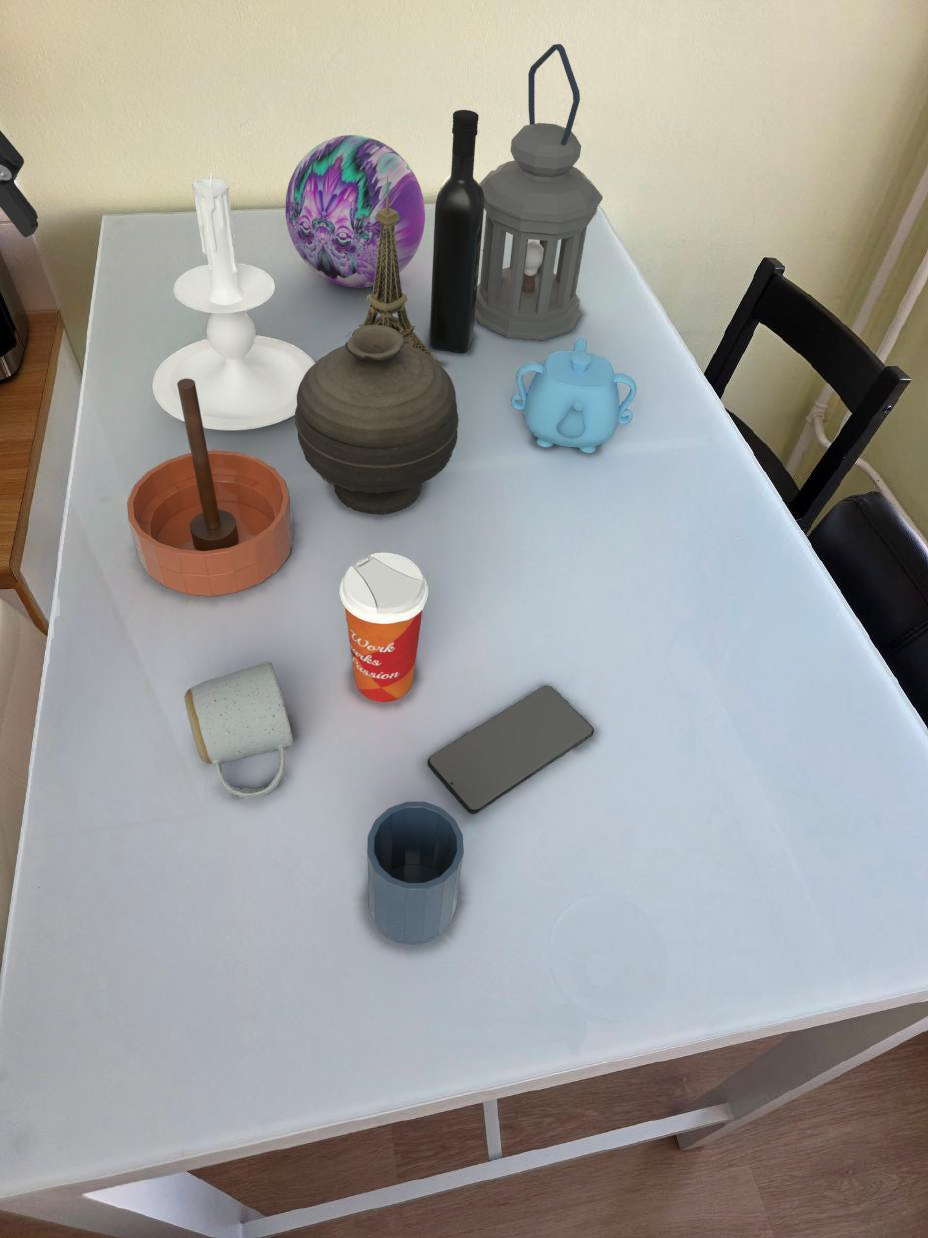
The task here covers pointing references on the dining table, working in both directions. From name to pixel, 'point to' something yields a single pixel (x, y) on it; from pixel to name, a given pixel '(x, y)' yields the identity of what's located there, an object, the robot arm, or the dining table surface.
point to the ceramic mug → (240, 721)
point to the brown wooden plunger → (204, 480)
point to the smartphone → (509, 749)
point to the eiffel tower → (390, 284)
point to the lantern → (536, 227)
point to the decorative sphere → (352, 208)
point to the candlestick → (229, 333)
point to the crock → (414, 871)
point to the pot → (377, 420)
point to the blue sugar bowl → (573, 399)
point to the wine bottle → (457, 243)
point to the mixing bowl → (174, 501)
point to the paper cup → (383, 623)
